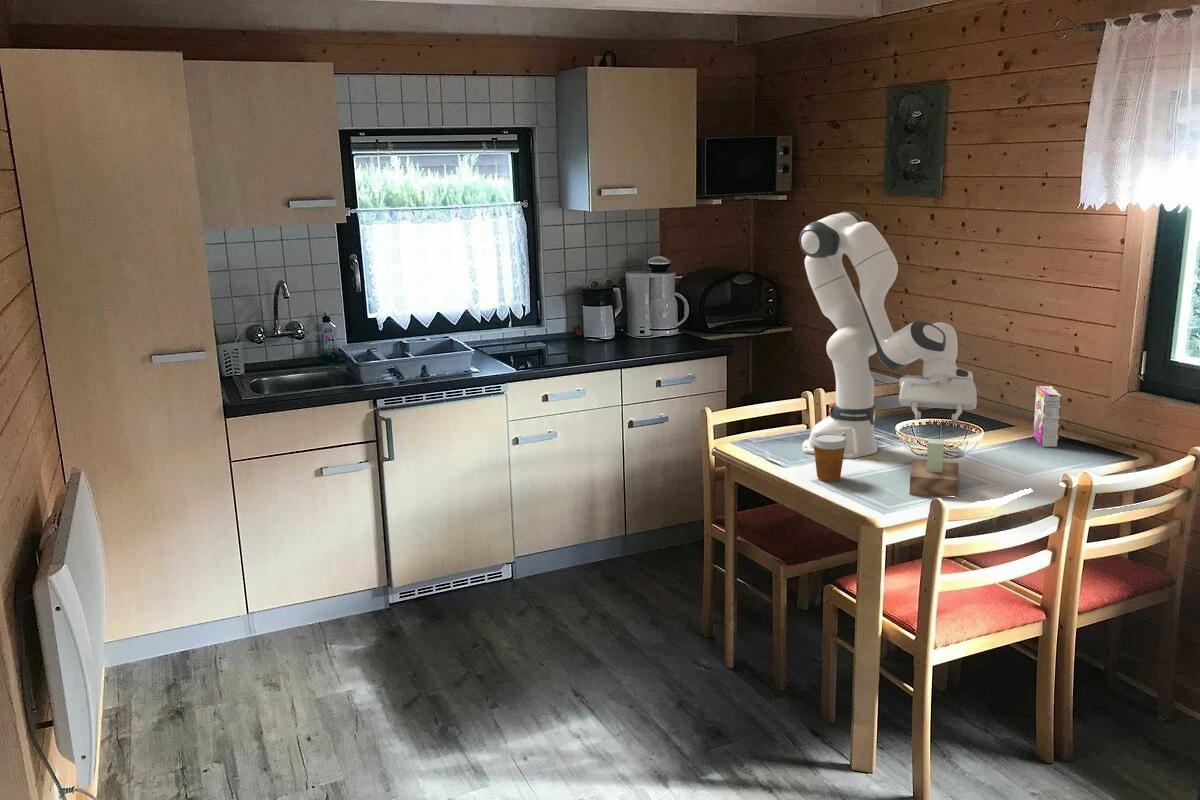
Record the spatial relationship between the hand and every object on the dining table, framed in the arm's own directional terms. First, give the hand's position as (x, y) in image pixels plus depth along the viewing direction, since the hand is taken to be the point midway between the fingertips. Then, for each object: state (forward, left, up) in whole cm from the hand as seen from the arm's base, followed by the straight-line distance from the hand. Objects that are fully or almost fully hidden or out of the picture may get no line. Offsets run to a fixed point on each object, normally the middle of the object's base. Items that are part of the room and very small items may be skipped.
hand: (935, 420), depth 258 cm
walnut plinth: (0, -6, -17) cm, 18 cm away
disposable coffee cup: (-28, -5, -17) cm, 33 cm away
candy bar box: (+31, +43, -17) cm, 56 cm away
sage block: (0, -6, -12) cm, 14 cm away
